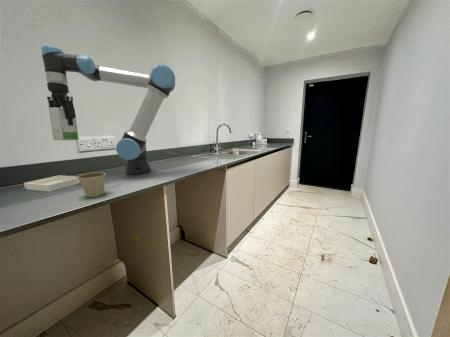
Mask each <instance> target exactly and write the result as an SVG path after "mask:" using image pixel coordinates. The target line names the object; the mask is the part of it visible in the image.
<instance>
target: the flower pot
mask: <svg viewBox="0 0 450 337" xmlns="http://www.w3.org/2000/svg"><path fill="white" fill-rule="evenodd" d="M106 175H107V174H106V173H105V172H98V171H97V172H90V173H84V174H81V175H78V176H76V177H77V178H78V179H79V180H80V182H81V183H80V184H81V186H82V188H83V191H84V194H85V197H87V198H97V197H100V196H102V195H104V194H105V178H106Z"/></svg>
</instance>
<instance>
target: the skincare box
mask: <svg viewBox="0 0 450 337" xmlns="http://www.w3.org/2000/svg"><path fill="white" fill-rule="evenodd" d="M48 112H49V119H50V126H51V131H52V140H53V141H79V132H78V125H77V124H78V122H77V117H76V118H73V129H74V132H67V128H66V122H65V117H66V116H65V113H64V108H62V107H61V108H49V107H48Z"/></svg>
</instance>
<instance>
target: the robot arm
mask: <svg viewBox="0 0 450 337" xmlns="http://www.w3.org/2000/svg"><path fill="white" fill-rule="evenodd" d="M41 57H42V61H43V67H44V72H45V79H46V81H47V83H46V85H47V90H48V91H49V92H50V93H51V94H50V95H51V96H47V97H46V99H47V102H48V108H64V113H65V116H66V117H65V122H66V128H67V132H74V129H73V118H76V119H77V116H76V111H75V110H76V109H75V107H74V103H73V102H74V98H73V96H69V95H68V94H69V93H70V91H69V86H68V82H69V81H68V77H67V76H68V75H67V72H70V73H79V74H80V75H82V76H83V77H86V78H87V79H88V80H90V81H93V82H99V81H100V82H106V83H114V84H120V85H125V86H126V85H127V86H131V87H137V88H138V87H139V88H142V89H143V88H144V89H147V92H146V94H145V97H144V98H143V101H142V102H141V105H140V106H139V109H138V110H137V113H136V115H135V118H134V119H133V121H132V124H131V126H130V129H129V130H126V131H125V132H124V133H123V136H122V137H121V139H120V140H118V141H117V143H116V146H115V151H116V153H117V155H118V156H119V157H120V158H122V159H124V160H126V164H125V168H124V172H125V173H124V174H127V175H142V174H147V173H151V171H152V167H151V166H150V165H151V164H150V162H149V160H148V155H147V153H148V152H147V139H146V137H147V134H148V132H149V130H150V128H151V126H152V125H153V122H154V120H155V118H156V116H157V114H158V112H159V111H160V107H161V105H162V103H163V101H164V99H167V98H169V95H170V93H171V92H173V91H174V90H175V86H176V75H175V73H174V71H173V70H172V68H170V67H169V66H168V65H167V64H163V63H162V64H161V63H160V64H156V65H155V66H154V65H153V67H152V68H151V70H150V74H148V73H143V72H136V71H131V70H124V69H119V68H113V67H109V66H103V65H102V66H101V65H98V64H97V65H96V64H95V62H94V60H93V59H92V57H90V56H88V55H84V54H83V55H82V54H74V53H73V54H70V53H64V52H63V50H62V49H61V48H60V47H56V46H52V45H49V44H47V45H42V46H41Z"/></svg>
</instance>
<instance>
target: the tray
mask: <svg viewBox="0 0 450 337" xmlns="http://www.w3.org/2000/svg"><path fill="white" fill-rule="evenodd" d="M77 177H78V176H72V175H61V174H60V175H55V176H50V177H46V178H41V179H36V180H31V181H28V182H26V181H25V182H23V185H24V189H25V190H27V191H28V190H29V191H37V192H38V191H39V192H47V193H48V192H54V191H58V190H61V189H65V188H69V187H72V186H75V185H79V184H82V183H81V182H80V180H79V179H78V178H77Z"/></svg>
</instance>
